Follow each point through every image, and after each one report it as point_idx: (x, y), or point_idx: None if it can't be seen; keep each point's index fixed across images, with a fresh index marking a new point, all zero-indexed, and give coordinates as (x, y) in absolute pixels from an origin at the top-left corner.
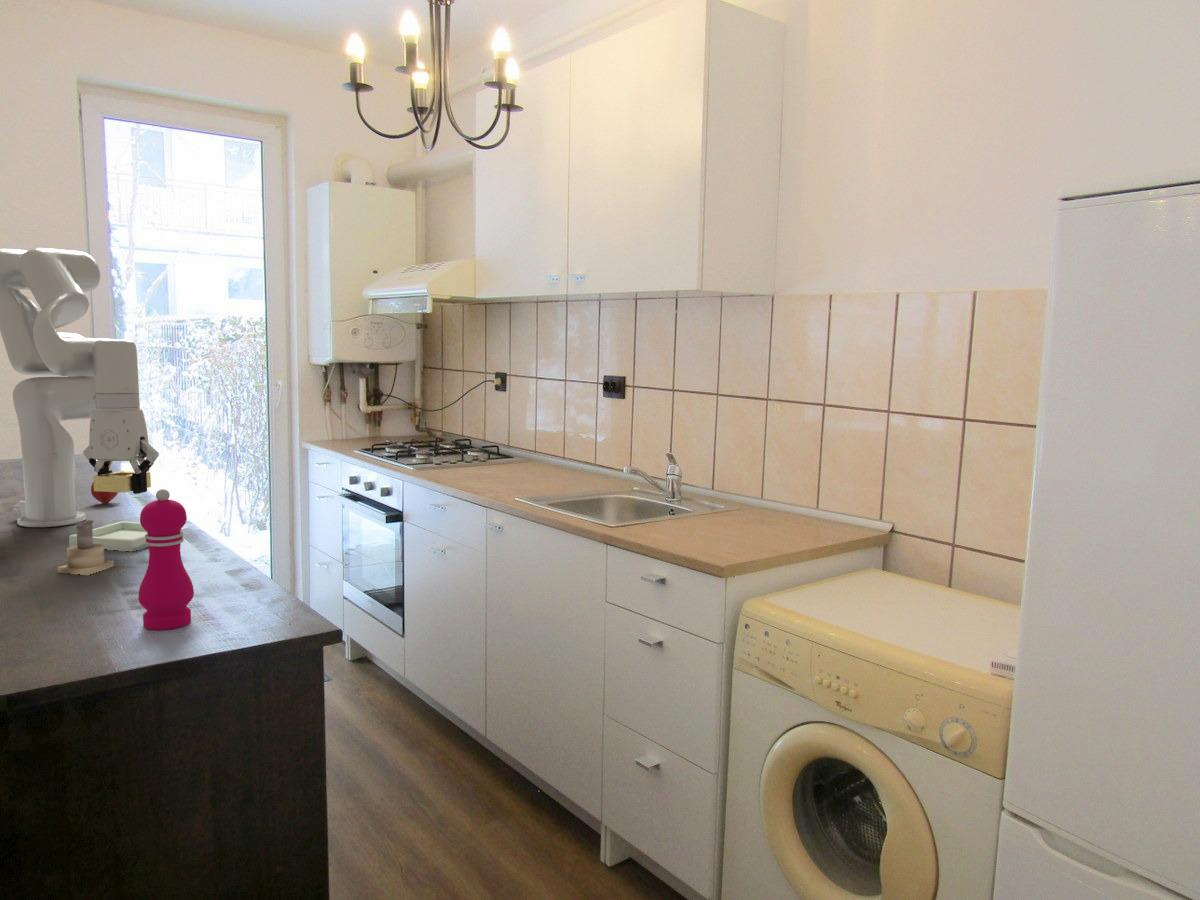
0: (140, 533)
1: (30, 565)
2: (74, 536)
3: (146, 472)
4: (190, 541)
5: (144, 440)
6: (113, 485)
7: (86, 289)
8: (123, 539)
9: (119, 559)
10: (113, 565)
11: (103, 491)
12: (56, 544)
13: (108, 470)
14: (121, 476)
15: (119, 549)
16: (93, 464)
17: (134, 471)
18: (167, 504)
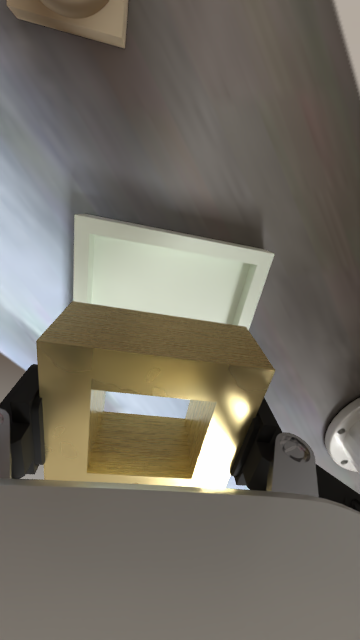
0: None
1: (273, 10)
2: (257, 250)
3: None
4: (28, 331)
5: None
6: (136, 324)
7: None
8: (110, 230)
9: (66, 126)
10: (14, 12)
11: (196, 319)
12: (303, 269)
13: (244, 472)
14: (84, 367)
15: (123, 221)
16: (336, 489)
17: (9, 421)
18: None
